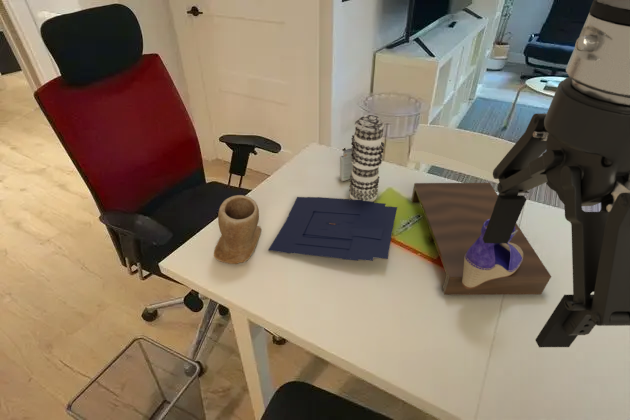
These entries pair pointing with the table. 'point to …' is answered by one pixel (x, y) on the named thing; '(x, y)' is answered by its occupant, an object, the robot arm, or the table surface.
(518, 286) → the walnut wood board
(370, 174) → the decorative candle
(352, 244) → the papers
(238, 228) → the stone cup
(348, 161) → the ink box
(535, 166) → the robot arm
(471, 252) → the sandal
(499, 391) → the table surface
